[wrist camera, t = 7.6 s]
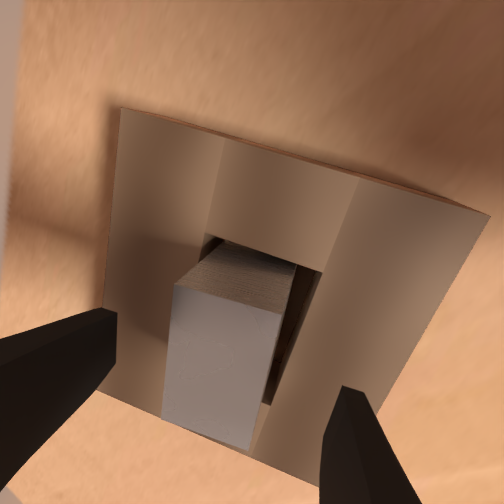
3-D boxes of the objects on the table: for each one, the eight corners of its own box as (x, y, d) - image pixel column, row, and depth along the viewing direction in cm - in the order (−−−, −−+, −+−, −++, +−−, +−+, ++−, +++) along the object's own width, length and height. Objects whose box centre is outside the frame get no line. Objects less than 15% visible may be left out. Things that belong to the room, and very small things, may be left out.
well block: (454, 201, 11) (491, 216, 9) (330, 437, 16) (331, 492, 13) (162, 116, 13) (121, 107, 10) (128, 354, 18) (94, 389, 15)
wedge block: (301, 246, 13) (281, 314, 8) (278, 340, 15) (248, 450, 10) (236, 230, 14) (173, 284, 8) (220, 323, 16) (161, 419, 10)
